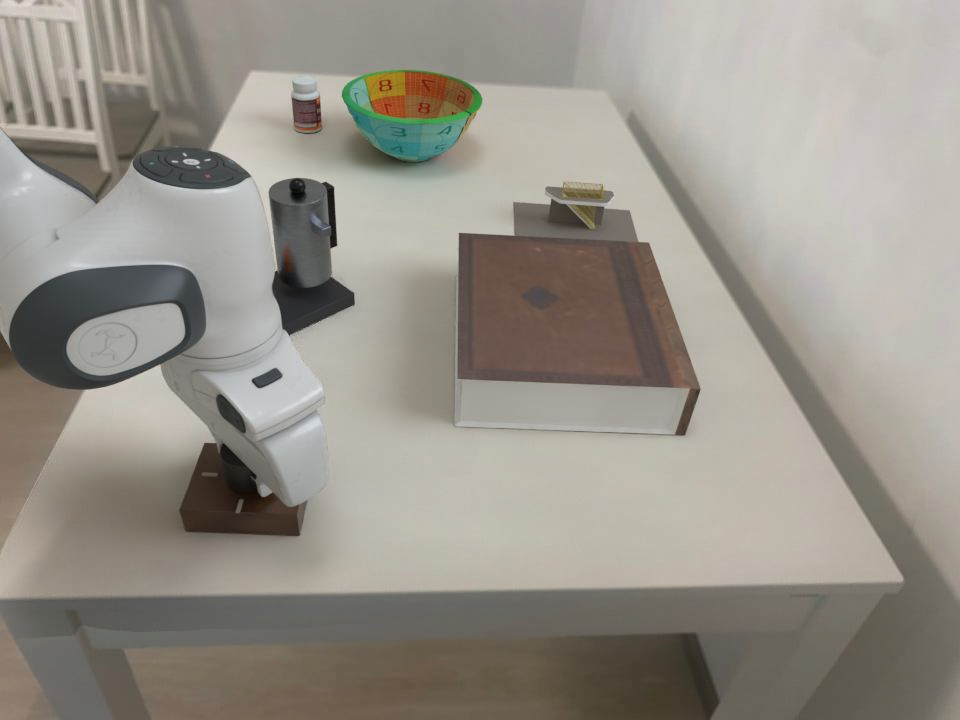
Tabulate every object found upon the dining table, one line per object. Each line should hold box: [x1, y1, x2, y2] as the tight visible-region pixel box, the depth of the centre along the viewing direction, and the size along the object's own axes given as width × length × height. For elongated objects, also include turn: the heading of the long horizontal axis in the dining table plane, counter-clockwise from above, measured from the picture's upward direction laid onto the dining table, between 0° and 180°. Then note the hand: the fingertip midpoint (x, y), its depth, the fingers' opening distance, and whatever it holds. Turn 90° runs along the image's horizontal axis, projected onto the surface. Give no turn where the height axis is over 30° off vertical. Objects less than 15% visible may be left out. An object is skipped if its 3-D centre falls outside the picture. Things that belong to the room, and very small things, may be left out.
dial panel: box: [178, 442, 308, 537], centre depth 70 cm, size 10×8×3 cm
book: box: [453, 232, 702, 436], centre depth 89 cm, size 24×28×6 cm
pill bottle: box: [290, 75, 323, 134], centre depth 131 cm, size 5×5×8 cm
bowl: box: [341, 69, 483, 163], centre depth 126 cm, size 22×22×10 cm
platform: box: [513, 180, 639, 242], centre depth 112 cm, size 12×18×7 cm, turn 89°
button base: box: [272, 270, 356, 336], centre depth 92 cm, size 15×10×4 cm
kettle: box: [268, 177, 338, 288], centre depth 89 cm, size 8×8×12 cm
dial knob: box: [220, 444, 256, 493], centre depth 68 cm, size 4×4×4 cm
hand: (248, 471), depth 68 cm, fingers closed on dial knob, 4 cm apart
